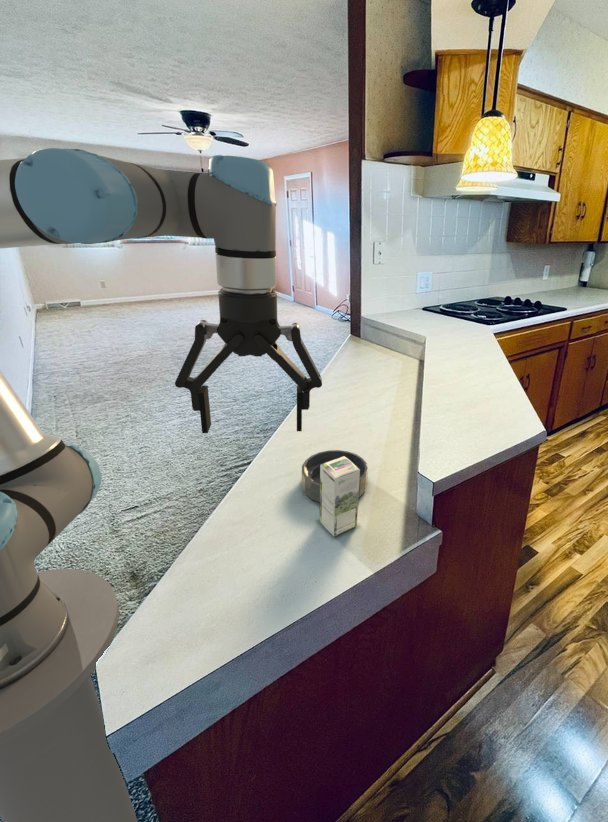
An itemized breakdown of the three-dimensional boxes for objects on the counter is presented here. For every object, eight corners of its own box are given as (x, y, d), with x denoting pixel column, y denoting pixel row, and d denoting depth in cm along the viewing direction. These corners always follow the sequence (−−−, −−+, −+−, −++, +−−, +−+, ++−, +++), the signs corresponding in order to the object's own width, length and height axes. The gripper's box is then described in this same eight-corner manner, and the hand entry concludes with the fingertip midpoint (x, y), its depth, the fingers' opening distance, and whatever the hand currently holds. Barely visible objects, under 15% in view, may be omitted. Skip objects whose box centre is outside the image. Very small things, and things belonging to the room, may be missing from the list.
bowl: (301, 508, 89) (301, 489, 87) (302, 468, 103) (302, 451, 101) (370, 504, 92) (371, 485, 90) (362, 465, 106) (363, 449, 104)
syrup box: (342, 511, 89) (343, 454, 83) (357, 527, 85) (360, 468, 79) (319, 521, 85) (319, 462, 80) (334, 538, 81) (335, 477, 76)
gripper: (338, 288, 61) (333, 415, 69) (155, 279, 56) (172, 417, 64) (343, 298, 54) (337, 438, 62) (135, 288, 49) (157, 442, 57)
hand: (254, 428), depth 63 cm, fingers open, 13 cm apart
